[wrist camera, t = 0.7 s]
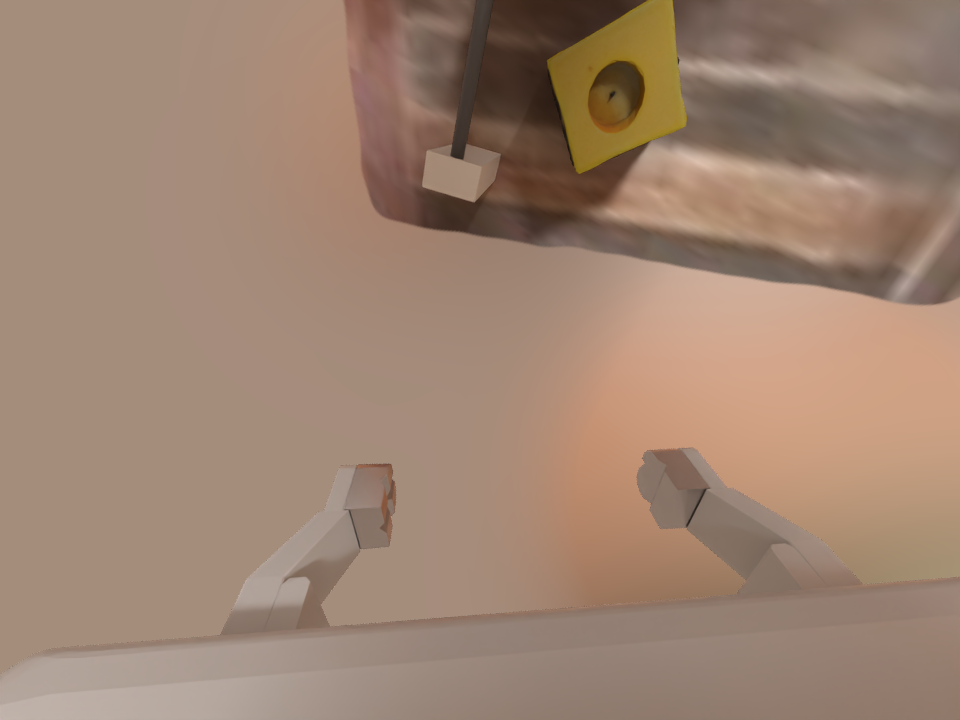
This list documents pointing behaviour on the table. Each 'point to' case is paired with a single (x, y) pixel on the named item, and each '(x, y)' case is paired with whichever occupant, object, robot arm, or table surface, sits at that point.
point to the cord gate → (465, 130)
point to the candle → (619, 86)
